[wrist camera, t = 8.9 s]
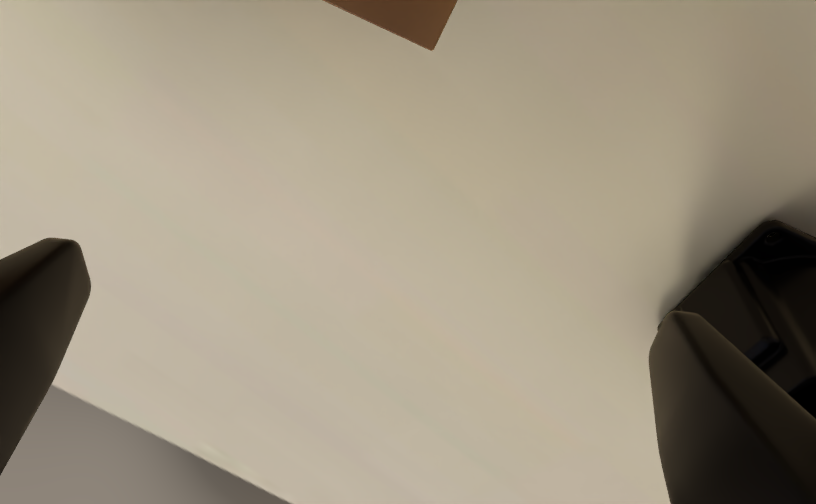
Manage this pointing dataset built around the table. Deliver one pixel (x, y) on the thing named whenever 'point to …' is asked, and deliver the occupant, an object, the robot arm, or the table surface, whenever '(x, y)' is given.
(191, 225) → the table surface
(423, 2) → the wooden pedestal
